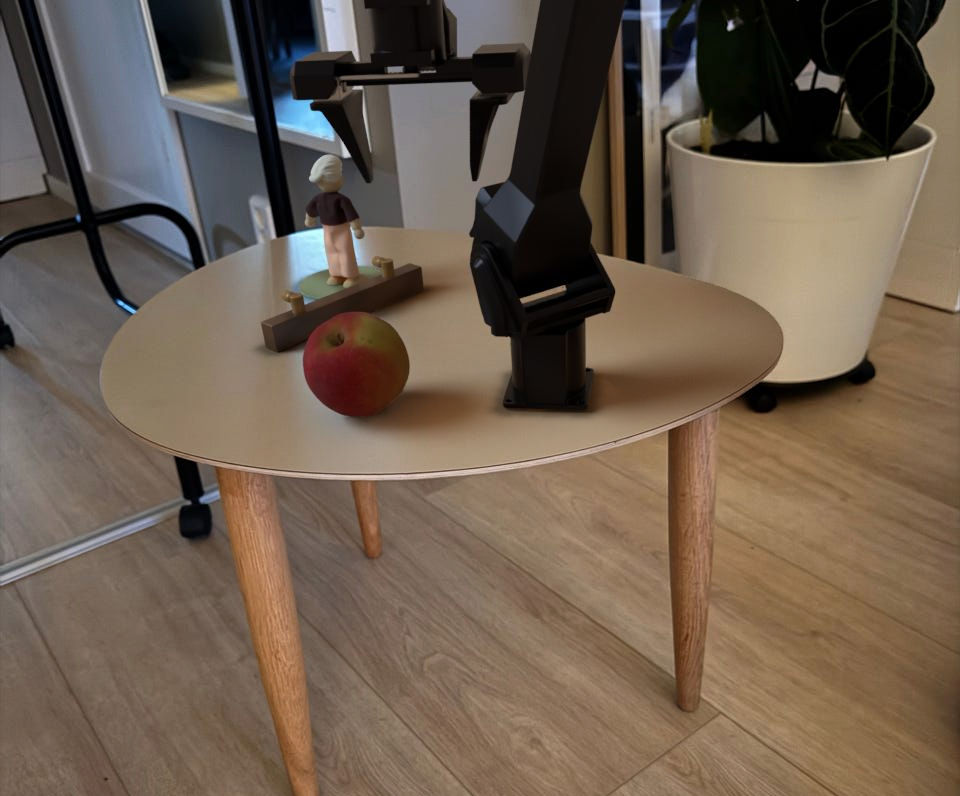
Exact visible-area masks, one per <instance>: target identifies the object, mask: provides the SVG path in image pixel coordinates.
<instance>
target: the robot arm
mask: <svg viewBox="0 0 960 796" xmlns="http://www.w3.org/2000/svg"><path fill="white" fill-rule="evenodd" d="M626 2H627V0H539V5H538V12H537V18H536V23H535V28H534V34H533V41H532V46H531V49H529V48H528V46H527V45H526V44H525V43H524V42H515V43H514V42H513V43H495V44H492V43H491V44H481V45H480V46H479V47H478V48H477V49H476V50H475V51H474V52H473V53H472V56H458V18H457V17H456V15H455V14H454V13H453V12H452V11H451V9H450V8H448V7H447V5H446V2H445V0H363V5H364V9H365V10H368V17H369V26H370V34H371V43H372V52H370V53H369V57H370V60H360V61H359V60H357V59H356V57H355V55H354V53H353V51H352V50H335V51H313V52H311V53H309V54H307V55H305V56H303V57H301V58H299V59H297V60H294V63H293V64H292V66H291V68H290V72H289V83H290V89H291V94H292V95H291V96H292V100H295V101H312V102H310V103H309V108H310V111H312V112H320V113H322V115H323V117H324V118H325V120H326V121H327V122H328V124H329V125H330V127H331V128H332V129H333V131H334V132H335V134H336V135H337V136H338V137H339V139H340V140H341V142H342V143H343V146H344V147H345V148H346V150H347V152H348V154H349V155H350V157H351V159H352V161H353V163H354V164H355V167H356V168H357V170H358V172H359V173H360V175H361V177H362V179H363V180H364V182H365V183H366V184H372V183H373V181H374V165H373V159H372V153H371V147H370V143H369V137H368V133H367V128H366V127H367V126H366V122H365V117H364V89H363V88H362V89H360V88H359V89H358V88H357V89H354V87H367V86H371V87H373V86H394V85H396V86H397V85H400V86H401V85H426V84H450V83H451V84H453V83H471V85H473V86H474V87H475V88H476V89H477V90H476V92H474V94H473V95H472V96H471V97H470V98H469V170H470V177H471V181H472V182H473V183H474V182H478V180H479V179H480V175H481V170H482V166H483V162H484V158H485V153H486V150H487V145H488V141H489V137H490V133H491V130H492V126H493V123H494V122H495V121H494V120H495V118H496V115H497V113H498V110H499V108H500V106H504V105H508V104H509V103H510V101H511V99H512V98H513V97H514V96H515V94H517V93H521V92H523V98H522V104H521V109H520V116H519V121H518V127H517V132H516V137H515V138H516V139H515V143H514V149H513V154H512V161H511V167H510V171H509V175H508V177H507V178H506V180H504V181H502V182H499V183H498V182H497V183H493V184H490V185H485V186H481V187H480V188H479V190H478V192H477V195H476V197H475V202H474V203H475V205H474V219H473V223H472V227H471V228H470V230H469V232H468V235H469V236H468V237H469V238H473V240H472V243H471V250H470V256H469V268H470V271H471V275H472V280H473V284H474V288H475V292H476V296H477V300H478V304H479V308H480V312H481V315H482V318H483V322H484V324H485V325H487V326H489V328H490V334H491V335H492V336H494V337H497V338H509V340H510V341H509V342H510V358H511V359H510V360H511V375H510V377H509V381H508V383H507V386H506V389H505V392H504V396H503V399H502V407H503V408H504V409H508V410H510V409H511V410H514V409H515V410H539V411H541V410H545V411H546V410H548V411H579V412H580V411H585V410H586V411H587V410H588V409H589V405H590V399H591V393H592V387H593V382H594V377H595V376H594V375H595V370H594V369H593V368H592V367H587V350H586V348H587V345H586V343H587V341H586V340H587V339H586V335H587V334H586V333H587V331H586V327H587V326H586V323H587V322H586V321H587V320H586V319H589V318H591V317H592V318H593V317H595V316H597V315H600V314H608V313H610V312H611V310H612V307H613V303H614V299H615V296H616V292H617V291H616V288H615V286H614V284H613V282H612V280H611V278H610V276H609V274H608V272H607V270H606V268H605V267H604V264H603V263H602V261H601V259H600V256H599V255H598V253H597V251H596V250H595V248H594V246H593V244H592V235H593V228H594V224H593V219H592V217H591V214H590V212H589V210H588V207H587V204H586V203H585V200H584V198H583V195H582V192H581V191H582V183H583V180H584V175H585V171H586V167H587V163H588V160H589V159H588V158H589V155H590V150H591V146H592V142H593V138H594V134H595V129H596V125H597V122H598V119H599V114H600V109H601V104H602V100H603V97H604V93H605V88H606V85H607V81H608V76H609V72H610V68H611V64H612V59H613V55H614V51H615V48H616V43H617V39H618V35H619V31H620V26H621V22H622V18H623V14H624V10H625V5H626ZM397 67H398V68H399V67H402V68H401V71H394V72H392V71H389V68H397ZM434 71H435V72H434ZM563 286H564V287H565V289H564V290H562V291H558V292H555V293H552V294H548V295H546V296H545V295H544V296H542V297H538V298H536V299H532V300H529V301H526V302H522V300H521V299H524V298H527V297H531V296H534V295H537V294H541V293H544V292H548V291H551V290H553V289H557V288H560V287H563Z"/></svg>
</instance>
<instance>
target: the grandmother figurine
mask: <svg viewBox="0 0 960 796" xmlns="http://www.w3.org/2000/svg"><path fill="white" fill-rule="evenodd" d="M342 171H343V163H342V160H341V159H340V156H339V157H338V156H337V155H333V154H325V155H322V156H321V157H319V158H318V159H317V160H316V161H315V162H314V164H313V165H312V168H311V170H310V175H309V177H308V179H309V181H310V183H314V184H317V186H318V187H319V189H320V190H321V191H322V192H320V193H317V194H315V196H313V197H312V198H311V199H310V200H309V202H308V203H307V205H306V207H305V208H304V210H305V220H304V225H305V226H306V227H307V228H309V229H311V228H314V227H315V225H316V219H317V218H318V217H319V222H320V224H321V226H322V230H323V231H322V232H323V243H324V252H325V256H326V261H327V266H328V269H329V273H330V275H331V277H330V278H329V279H328V281H327V284H328V285H332V286H335V285H340V284H342V283H344V285H343V286H344V287H345V288H348V287H351V286H353V285H356V284H358V283H361V282H363V281H366V280H368V278H367V277H366V276H365V275H364V274H359V270H358V266H359V265H358V262H357V256H356V251H355V245H354V238H355V239H356V240H362V239H364V238H365V235H366V233H365V230H364V229H363V225H362V223H361V218H360V215H359V213H358V211H357V209H356V207H355V206H354V204H353V202H352V200H351V198H349V197H348V196H346V195H344V194H342V193H341V192H339V191H340V190H341V189H342V187H343V185H344V176H343V173H342ZM352 231H353V232H352ZM353 237H354V238H353Z"/></svg>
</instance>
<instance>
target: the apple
mask: <svg viewBox="0 0 960 796" xmlns="http://www.w3.org/2000/svg"><path fill="white" fill-rule="evenodd" d="M410 365H411V363H410V355H409V353H408V350H407V347H406V345H405V343H404V340H403V339H402V337H401V336H400V334H399V332H398V331H397V330H396V329H395V328H394V326H393V325H391V324H390V323H389V322H387V321H386V320H385V319H383V318H381V317H379V316H377V315H374V314H372V313H366V312H347V313H342V314H338V315H336V316H334V317H332V318H331V319H329V320H327V321H326V322H324V323H323V324H321V325H320V326H319V327H317V328H316V329H315V330H314V331H313V333H312V334H311V335H310V337H309V339H307V340H306V343H305V347H304V350H303V354H302V368H303V375H304V376H303V377H304V380H305V382H306V385H307V386H308V389H309V390H310V392H312V394H313V395H314V397H315V398H316V399H317V400H318V401H319V402H320V403H321V404H322V405H324V406H325V407H326V408H328V409H330V410H331V411H333V412H335V413H337V414H339V415H342V416H345V417H350V418H364V417H370V416H374V415H376V414H379V413H381V412H382V411H383V410H385V409H386V408H388V406H390V404H392V403H393V402H394V401H395V400H396V399H397V398H398V397H399V396H400V395H401V394H402V392H403V391H404V389H405V387H406V385H407V383H408V380H409V376H410V371H411V366H410Z"/></svg>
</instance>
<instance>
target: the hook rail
mask: <svg viewBox="0 0 960 796" xmlns="http://www.w3.org/2000/svg"><path fill="white" fill-rule="evenodd" d="M371 264H372V266H374V267H370V266H364V265H358V270H359V274H364V275H365V276H366V277H367V278H368V280H366V281H363V282H361V283H358V284H356V285H353V286H351V287H348V288H345V287H344V286H343V285H344V283H342V284H340V285H335V286H332V285H328V284H327V281H328V279H329V278H330V277H331V275H330V273H329V268H328V269H324V270H320V271H317V272H315V273H312V274H309V275H308V276H307V277H305V278H303V279H302V280H301V281H300V283H299V285H298V288H299V292H295V291H291V290H288V289H286V290H284V291H282V292H281V294H280V297H281V300H283V301H284V302H286V303H289V304H290V307H291V309H289V310H287V311H284V312H282V313H280V314H277V315H275V316H273V317H269V318H267V319H265V320H262V321H260V325H261V330H262V335H263V340H264V345H265V348H267V349H269V350H271V351H274V352H276V353H279V352H281V351H283V350H286V349H288V348H291V347H293V346H295V345H297V344H300V343H303V342H305V341H308V339H309V337H310V335H311V334H312V333H313V331H314V330H315V329H316V328H317V327H319V326H320V325H321V324H323V323H324V322H326V321H327V320H329V319H331V318H332V317H334V316H336V315H338V314H342V313H347V312H366V313H370V314H372V313H373V312H375V311H376V312H377V311H378V310H381V309H383V308H385V307H388V306H391V305H393V304H395V303H397V302H400V301H401V300H404V299H407V298H410V297H411V296H414V295H416V294H419V293H420V292H424V290H425V288H424V278H423V276H424V275H423V268H422V266H421V265H418V264H413V263H410V262H409V263H406V264H403V265H402V266H399V267H397V268H395V265H394V260H393V258H385V257H381V256H378V255H376V256H374V257H372V259H371ZM378 268H379V269H378ZM380 269H381V270H380ZM304 297H307V298H309V299H313V301H310V302H308V303H305V298H304Z"/></svg>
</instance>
